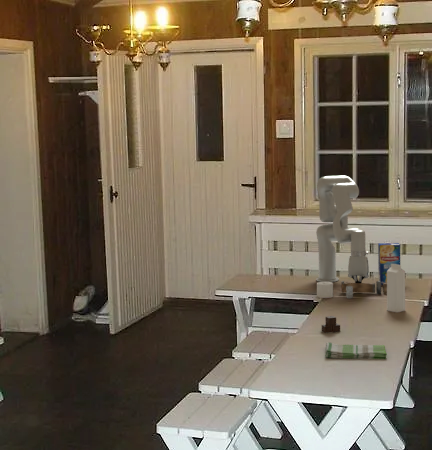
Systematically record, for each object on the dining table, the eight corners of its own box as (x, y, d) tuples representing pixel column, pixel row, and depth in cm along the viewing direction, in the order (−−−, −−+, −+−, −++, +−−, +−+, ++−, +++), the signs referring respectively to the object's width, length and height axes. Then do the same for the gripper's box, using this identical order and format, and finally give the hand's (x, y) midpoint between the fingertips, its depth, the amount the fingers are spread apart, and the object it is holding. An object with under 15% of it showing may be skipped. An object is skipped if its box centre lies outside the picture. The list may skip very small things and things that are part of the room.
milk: (396, 312, 390) (396, 265, 388) (386, 310, 395) (386, 264, 392) (405, 310, 394) (405, 264, 391) (395, 308, 399) (395, 262, 396)
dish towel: (325, 348, 335) (325, 339, 334) (384, 348, 331) (384, 339, 331) (325, 360, 318) (324, 350, 317) (387, 360, 314) (387, 351, 314)
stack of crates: (323, 339, 349) (323, 323, 348) (309, 331, 363) (309, 315, 362) (356, 335, 353) (356, 319, 352) (341, 327, 367) (341, 312, 366)
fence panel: (382, 292, 436) (382, 280, 435) (399, 291, 439) (399, 279, 438) (385, 293, 433) (385, 281, 433) (401, 292, 436) (401, 280, 435)
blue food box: (400, 284, 456) (400, 244, 454) (380, 285, 457) (379, 245, 454) (398, 282, 463) (398, 242, 460) (378, 282, 464) (378, 243, 461)
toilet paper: (327, 293, 440) (327, 280, 439) (335, 297, 429) (335, 283, 428) (312, 294, 438) (312, 281, 437) (320, 298, 427) (320, 285, 427)
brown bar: (341, 292, 437) (341, 282, 436) (342, 291, 440) (341, 281, 439) (374, 292, 433) (374, 282, 432) (375, 291, 436) (375, 281, 435)
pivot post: (375, 293, 435) (375, 281, 434) (379, 293, 435) (379, 280, 435) (377, 294, 432) (377, 282, 432) (382, 294, 433) (381, 281, 432)
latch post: (346, 297, 427) (346, 286, 426) (350, 297, 427) (350, 285, 427) (348, 298, 424) (348, 286, 424) (352, 298, 425) (352, 286, 424)
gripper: (374, 253, 437) (374, 287, 440) (345, 252, 443) (346, 286, 445) (371, 255, 430) (371, 290, 433) (342, 254, 436) (342, 289, 438)
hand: (358, 288), depth 439 cm, fingers closed
